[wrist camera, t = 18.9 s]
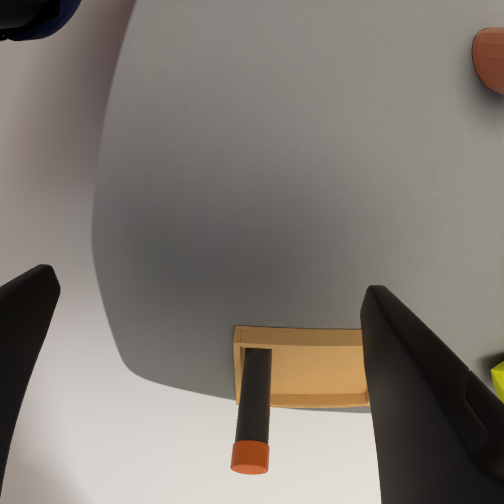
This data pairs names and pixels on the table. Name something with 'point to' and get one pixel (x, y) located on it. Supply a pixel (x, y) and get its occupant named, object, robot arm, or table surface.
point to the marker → (253, 414)
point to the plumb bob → (498, 380)
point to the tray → (308, 365)
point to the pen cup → (490, 58)
